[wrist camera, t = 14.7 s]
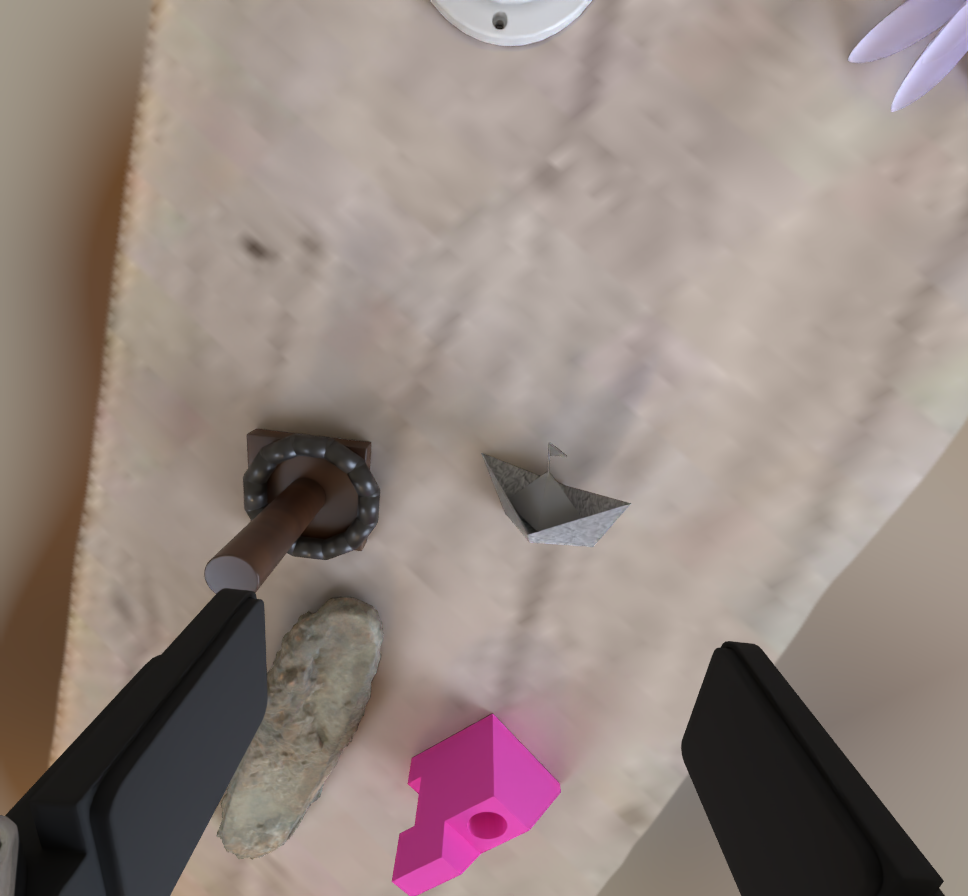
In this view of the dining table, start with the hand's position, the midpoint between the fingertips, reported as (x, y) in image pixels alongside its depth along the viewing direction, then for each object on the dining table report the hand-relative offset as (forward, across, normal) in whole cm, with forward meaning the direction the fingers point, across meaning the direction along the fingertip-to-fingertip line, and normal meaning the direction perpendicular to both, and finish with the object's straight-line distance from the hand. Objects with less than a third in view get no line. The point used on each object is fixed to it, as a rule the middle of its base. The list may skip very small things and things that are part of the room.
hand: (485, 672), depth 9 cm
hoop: (+24, +12, +9) cm, 28 cm away
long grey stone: (+26, +14, +35) cm, 46 cm away
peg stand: (+26, +13, +9) cm, 31 cm away
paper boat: (+26, -6, +6) cm, 28 cm away
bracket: (+26, -5, +39) cm, 47 cm away
